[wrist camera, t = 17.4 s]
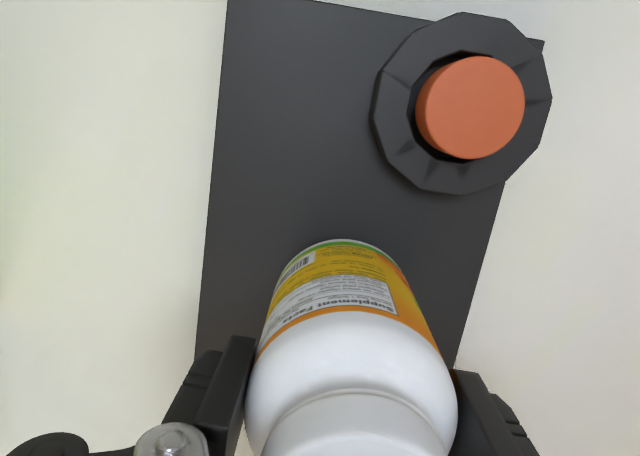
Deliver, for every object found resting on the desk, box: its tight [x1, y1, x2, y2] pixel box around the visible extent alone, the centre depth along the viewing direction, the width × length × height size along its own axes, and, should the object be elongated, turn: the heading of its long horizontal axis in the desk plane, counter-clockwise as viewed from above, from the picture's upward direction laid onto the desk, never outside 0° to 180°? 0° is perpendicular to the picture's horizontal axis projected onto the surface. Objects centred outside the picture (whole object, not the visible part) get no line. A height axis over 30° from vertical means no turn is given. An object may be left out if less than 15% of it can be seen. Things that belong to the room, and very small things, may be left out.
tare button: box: [415, 56, 525, 159], centre depth 15 cm, size 3×3×2 cm
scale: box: [194, 0, 552, 370], centre depth 18 cm, size 16×12×3 cm
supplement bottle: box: [244, 239, 458, 456], centre depth 13 cm, size 5×5×10 cm
